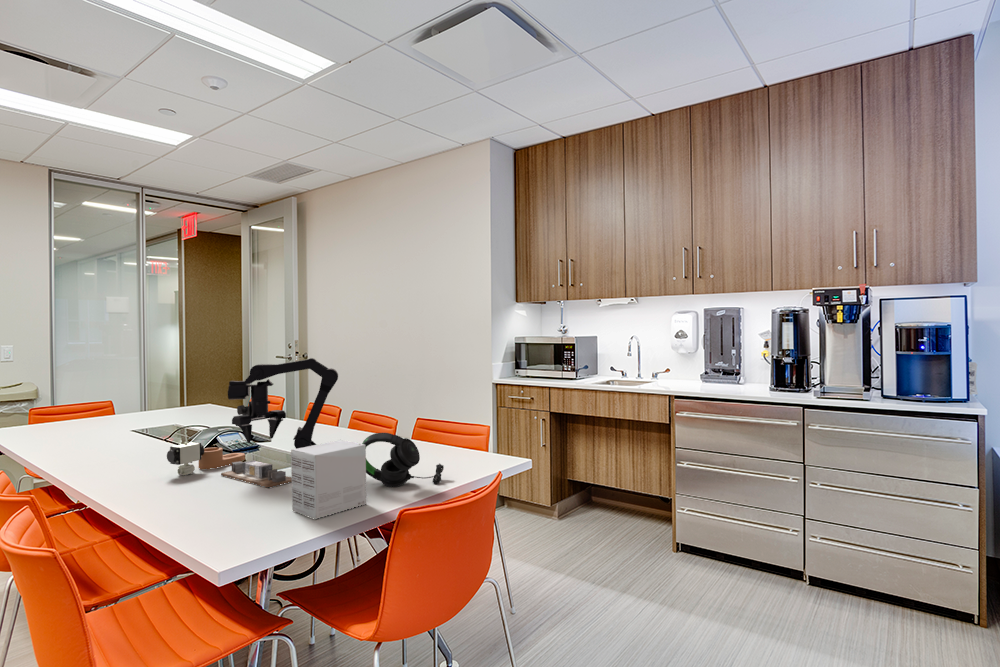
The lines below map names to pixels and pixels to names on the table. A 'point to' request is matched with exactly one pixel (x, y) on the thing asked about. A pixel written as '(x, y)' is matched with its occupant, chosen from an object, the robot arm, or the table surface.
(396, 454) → the headset
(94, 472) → the table surface
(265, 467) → the steel coupler
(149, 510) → the table surface
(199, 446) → the pneumatic valve
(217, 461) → the bracket
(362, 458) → the supplement box
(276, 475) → the stand
